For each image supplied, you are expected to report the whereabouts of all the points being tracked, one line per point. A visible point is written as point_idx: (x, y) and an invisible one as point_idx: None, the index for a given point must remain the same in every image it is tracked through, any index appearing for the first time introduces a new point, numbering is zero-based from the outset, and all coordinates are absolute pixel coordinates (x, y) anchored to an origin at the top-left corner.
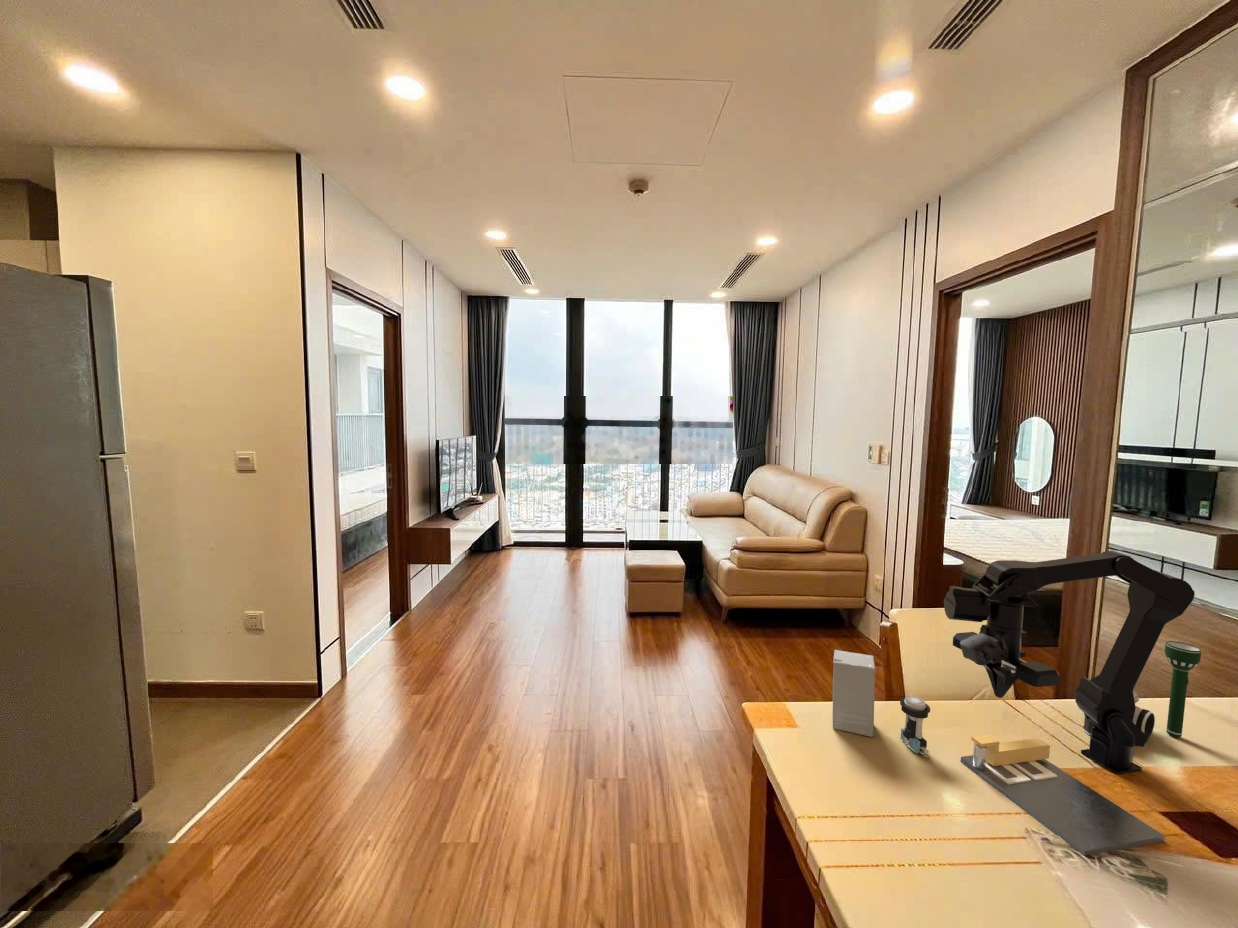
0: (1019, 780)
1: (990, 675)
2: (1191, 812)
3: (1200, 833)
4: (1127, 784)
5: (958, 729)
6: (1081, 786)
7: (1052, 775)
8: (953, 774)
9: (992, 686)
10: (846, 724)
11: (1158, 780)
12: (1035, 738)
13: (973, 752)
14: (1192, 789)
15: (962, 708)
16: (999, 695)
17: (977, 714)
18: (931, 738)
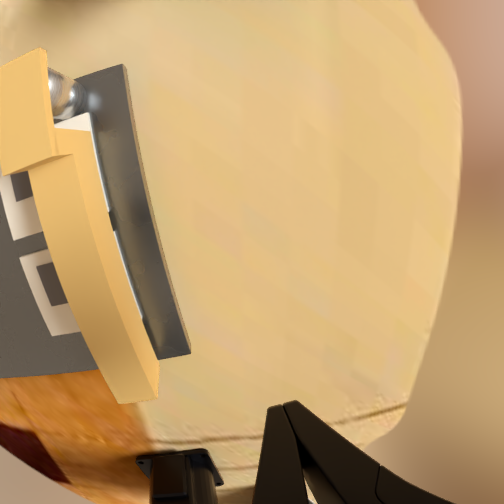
0: (4, 197)
1: (386, 500)
2: (56, 466)
3: (6, 436)
4: (103, 449)
5: (323, 195)
6: (34, 361)
7: (49, 323)
8: (70, 15)
9: (332, 434)
10: None
11: (135, 487)
12: (150, 387)
13: (60, 73)
14: (124, 501)
15: (416, 291)
16: (266, 422)
17: (385, 317)
18: (268, 47)
